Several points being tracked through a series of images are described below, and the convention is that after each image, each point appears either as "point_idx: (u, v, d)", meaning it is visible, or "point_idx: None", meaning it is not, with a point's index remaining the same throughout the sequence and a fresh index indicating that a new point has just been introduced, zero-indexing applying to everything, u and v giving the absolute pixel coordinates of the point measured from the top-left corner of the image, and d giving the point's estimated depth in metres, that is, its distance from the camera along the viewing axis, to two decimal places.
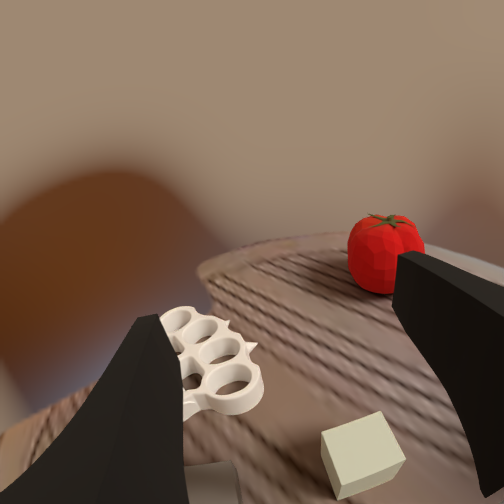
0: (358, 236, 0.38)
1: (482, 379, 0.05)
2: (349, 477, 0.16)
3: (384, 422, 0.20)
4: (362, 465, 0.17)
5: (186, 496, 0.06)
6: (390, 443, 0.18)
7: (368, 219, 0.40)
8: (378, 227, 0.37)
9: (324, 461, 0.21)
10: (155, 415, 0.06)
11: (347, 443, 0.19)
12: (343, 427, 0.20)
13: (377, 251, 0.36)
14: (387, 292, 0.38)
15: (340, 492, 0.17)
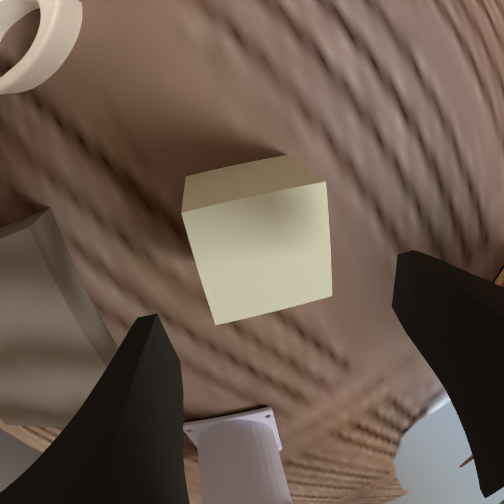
0: None
1: (482, 379, 0.05)
2: (229, 314, 0.12)
3: (323, 213, 0.11)
4: (256, 296, 0.12)
5: (186, 496, 0.06)
6: (318, 262, 0.12)
7: None
8: None
9: None
10: (155, 415, 0.06)
11: (235, 249, 0.11)
12: (232, 207, 0.10)
13: None
14: None
15: None
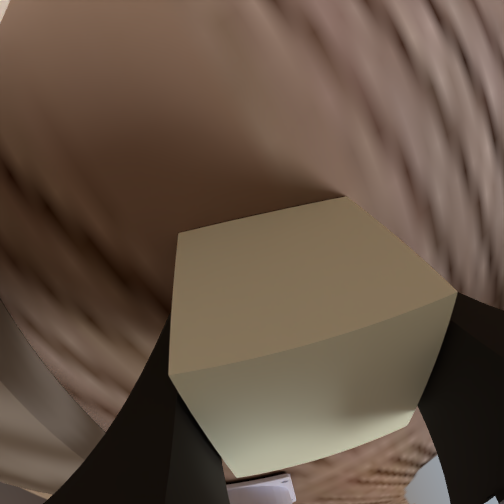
0: None
1: (451, 398, 0.05)
2: (258, 469, 0.07)
3: (437, 341, 0.05)
4: (303, 450, 0.06)
5: (226, 492, 0.06)
6: (405, 400, 0.06)
7: None
8: None
9: None
10: None
11: (279, 414, 0.05)
12: (282, 362, 0.04)
13: None
14: None
15: None
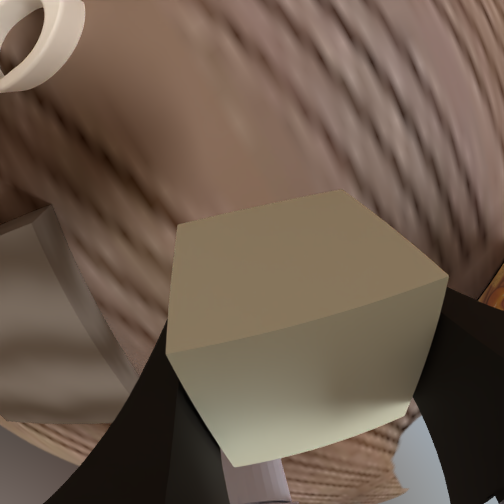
0: None
1: (451, 398, 0.05)
2: (255, 458, 0.07)
3: (431, 326, 0.05)
4: (300, 438, 0.07)
5: (226, 492, 0.06)
6: (401, 387, 0.06)
7: None
8: None
9: None
10: None
11: (275, 397, 0.05)
12: (276, 341, 0.05)
13: None
14: None
15: None
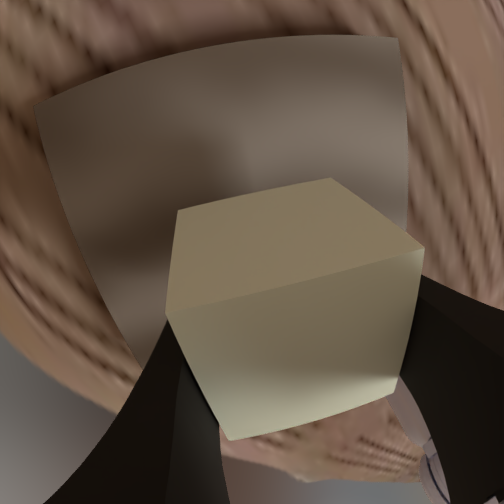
0: None
1: (451, 398, 0.05)
2: (249, 430, 0.07)
3: (411, 297, 0.06)
4: (291, 410, 0.07)
5: (226, 492, 0.06)
6: (387, 360, 0.07)
7: None
8: None
9: None
10: (199, 409, 0.06)
11: (265, 361, 0.06)
12: (264, 302, 0.05)
13: None
14: None
15: None
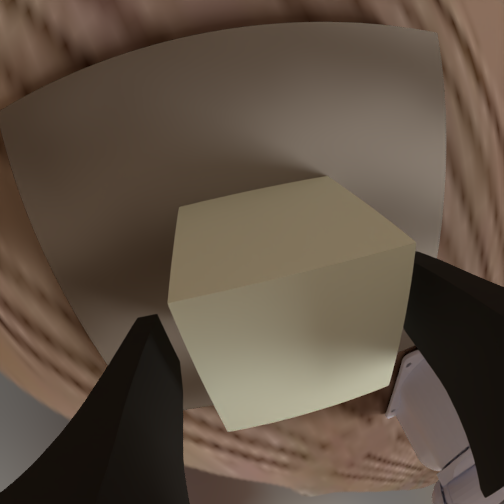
0: None
1: (482, 379, 0.05)
2: (247, 421, 0.08)
3: (404, 290, 0.06)
4: (288, 401, 0.08)
5: (186, 496, 0.06)
6: (382, 353, 0.07)
7: None
8: None
9: None
10: (155, 415, 0.06)
11: (263, 352, 0.06)
12: (261, 293, 0.06)
13: None
14: None
15: None
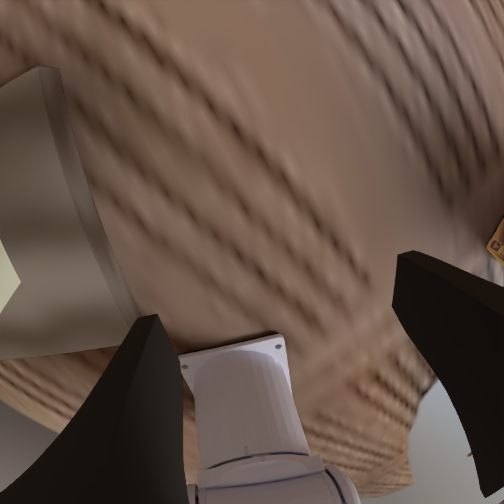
0: None
1: (482, 379, 0.05)
2: None
3: None
4: None
5: (186, 496, 0.06)
6: None
7: None
8: None
9: None
10: (155, 415, 0.06)
11: None
12: None
13: None
14: None
15: None
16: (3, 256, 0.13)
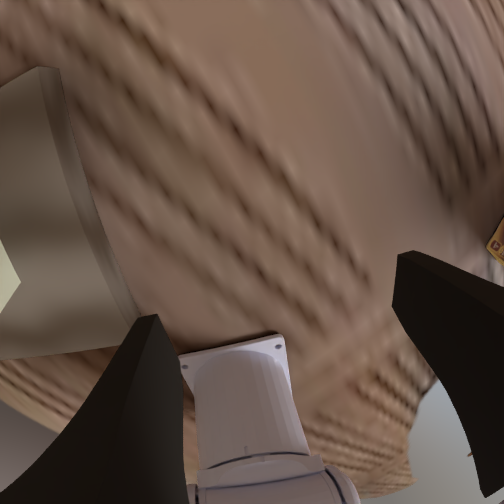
0: None
1: (482, 379, 0.05)
2: None
3: None
4: None
5: (186, 496, 0.06)
6: None
7: None
8: None
9: None
10: (155, 415, 0.06)
11: None
12: None
13: None
14: None
15: None
16: (3, 256, 0.13)
